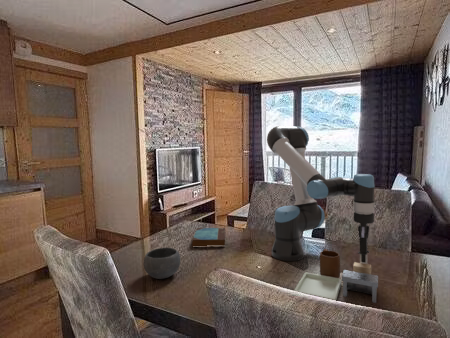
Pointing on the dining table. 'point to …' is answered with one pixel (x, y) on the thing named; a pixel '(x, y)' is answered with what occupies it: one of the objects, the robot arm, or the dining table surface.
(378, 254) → the dining table surface
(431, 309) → the dining table surface
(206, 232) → the book
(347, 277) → the gray bench
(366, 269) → the block
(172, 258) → the bowl
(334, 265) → the mug
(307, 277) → the tray
